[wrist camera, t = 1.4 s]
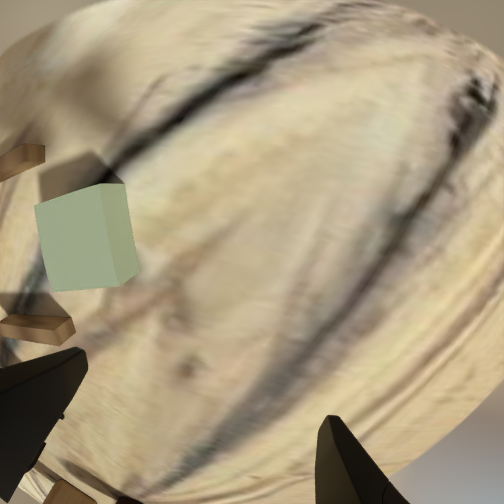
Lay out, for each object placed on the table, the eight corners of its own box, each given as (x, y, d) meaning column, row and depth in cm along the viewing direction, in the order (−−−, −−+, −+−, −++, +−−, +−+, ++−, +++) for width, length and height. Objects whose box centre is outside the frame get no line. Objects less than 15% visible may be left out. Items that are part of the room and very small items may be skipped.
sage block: (78, 277, 22) (52, 292, 18) (63, 202, 20) (34, 205, 16) (141, 270, 21) (119, 286, 17) (126, 183, 20) (99, 183, 16)
